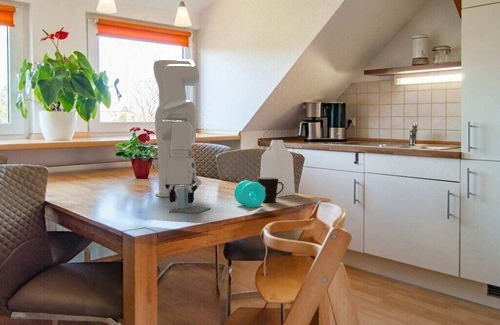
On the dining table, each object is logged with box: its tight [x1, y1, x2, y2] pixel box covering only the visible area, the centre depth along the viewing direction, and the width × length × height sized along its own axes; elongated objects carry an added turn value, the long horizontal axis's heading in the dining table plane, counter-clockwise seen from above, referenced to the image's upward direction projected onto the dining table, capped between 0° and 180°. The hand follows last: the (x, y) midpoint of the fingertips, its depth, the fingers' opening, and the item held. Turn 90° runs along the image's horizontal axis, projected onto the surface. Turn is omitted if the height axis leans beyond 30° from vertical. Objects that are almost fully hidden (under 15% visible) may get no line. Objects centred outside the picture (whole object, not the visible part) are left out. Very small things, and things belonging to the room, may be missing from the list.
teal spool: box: [233, 179, 265, 209], centre depth 186 cm, size 10×10×10 cm
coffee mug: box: [257, 177, 284, 204], centre depth 198 cm, size 12×9×10 cm
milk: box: [259, 139, 296, 198], centre depth 219 cm, size 12×12×26 cm
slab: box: [176, 185, 193, 209], centre depth 179 cm, size 7×3×8 cm, turn 162°
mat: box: [168, 206, 211, 215], centre depth 175 cm, size 12×11×1 cm
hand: (181, 202), depth 177 cm, fingers open, 6 cm apart
